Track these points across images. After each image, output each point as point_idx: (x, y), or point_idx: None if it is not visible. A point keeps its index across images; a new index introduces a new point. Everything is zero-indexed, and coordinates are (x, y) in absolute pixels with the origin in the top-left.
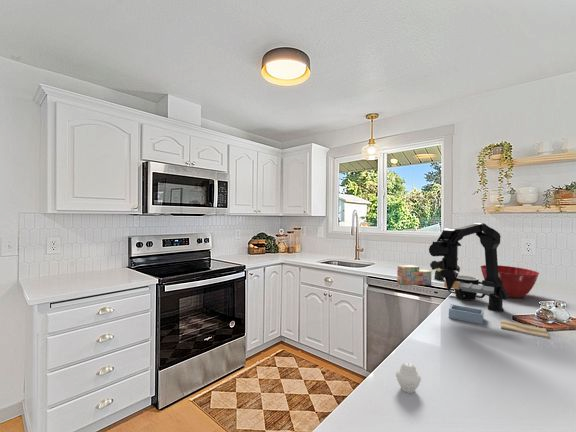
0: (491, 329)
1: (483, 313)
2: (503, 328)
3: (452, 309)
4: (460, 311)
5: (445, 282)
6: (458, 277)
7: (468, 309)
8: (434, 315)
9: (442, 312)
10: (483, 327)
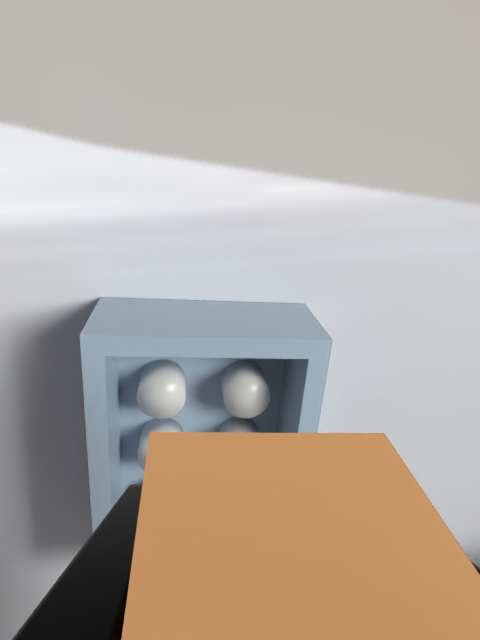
0: (26, 573)
1: None
2: None
3: (82, 371)
4: (88, 441)
5: (130, 612)
6: None
7: None
8: (70, 152)
9: (256, 226)
10: (31, 535)
